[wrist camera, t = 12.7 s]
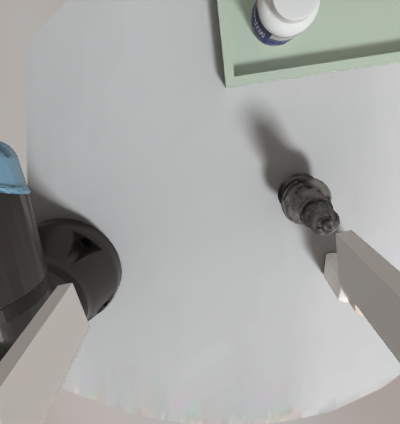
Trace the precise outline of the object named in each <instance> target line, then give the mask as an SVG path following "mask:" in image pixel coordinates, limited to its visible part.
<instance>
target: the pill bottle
mask: <svg viewBox="0 0 400 424" xmlns="http://www.w3.org/2000/svg"><path fill="white" fill-rule="evenodd" d="M319 5H320V0H256V1H255V4H254V6H253V9H252V12H251V18H250V23H251V29H252V32H253V34H254V36H255V37H256V39H257V40H258V41H259V42H261V43H262V44H264V45H266V46H271V47H276V46H281V45H283V44H285V43H287V42H289V41H290V40H291V39H293V38H294V37H296V36H297V35H298V34H300V33H301V32H303V31H304V30H305V29H306V28H307V27H308V26H309V25H310V24H311V23H312V22H313V20H314V19H315V17H316V15H317V12H318V9H319Z"/></svg>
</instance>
